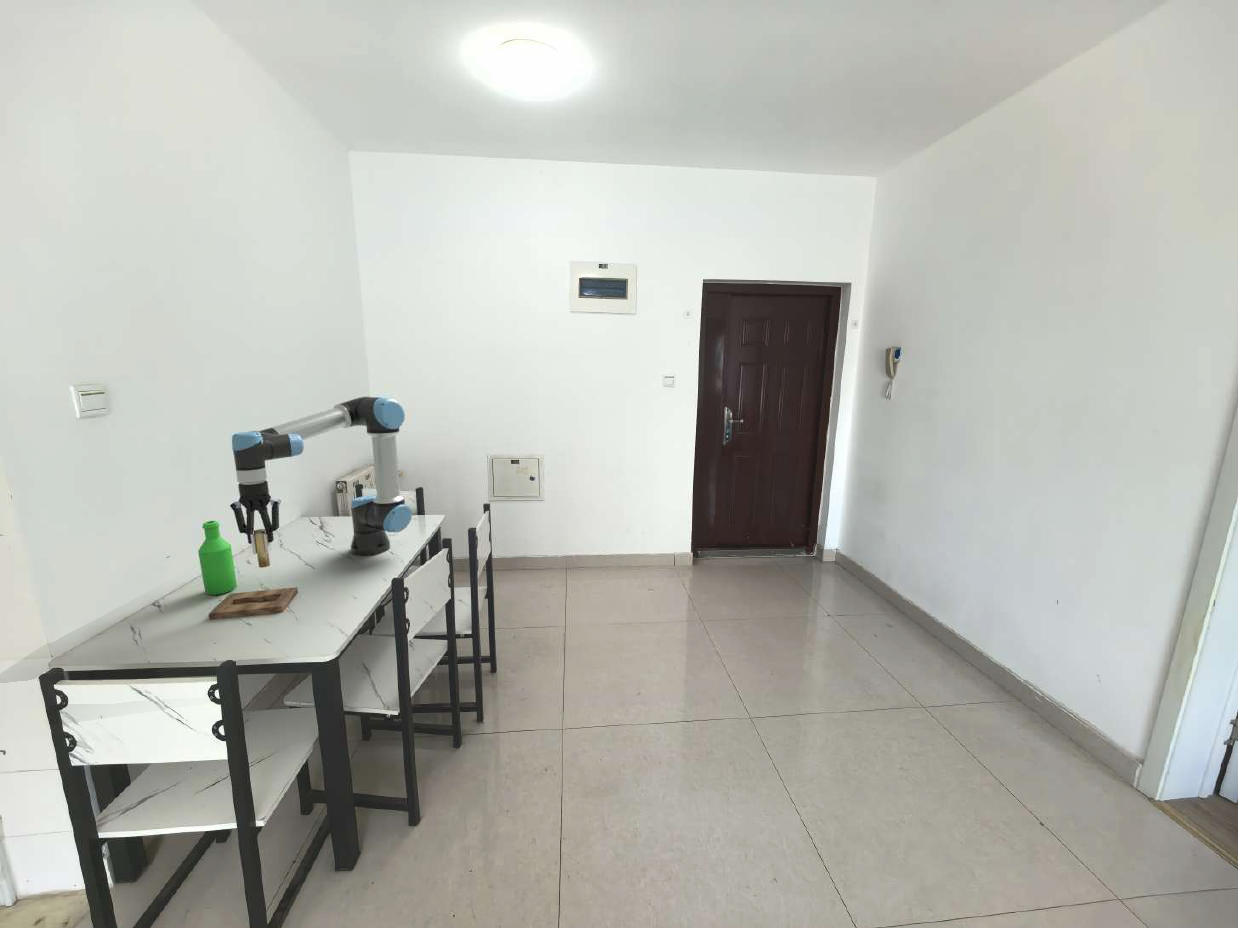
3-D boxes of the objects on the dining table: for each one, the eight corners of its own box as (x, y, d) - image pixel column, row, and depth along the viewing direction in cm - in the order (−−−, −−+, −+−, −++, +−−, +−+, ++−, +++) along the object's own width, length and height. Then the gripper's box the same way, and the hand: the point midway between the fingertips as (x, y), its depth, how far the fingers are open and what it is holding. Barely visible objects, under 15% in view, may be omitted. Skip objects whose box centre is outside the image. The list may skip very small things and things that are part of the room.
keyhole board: (297, 592, 174) (297, 587, 174) (282, 611, 161) (282, 606, 161) (230, 598, 169) (229, 593, 169) (209, 619, 156) (208, 613, 156)
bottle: (202, 598, 170) (190, 527, 164) (208, 587, 177) (197, 520, 172) (234, 593, 174) (223, 524, 168) (239, 583, 181) (229, 516, 176)
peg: (271, 563, 165) (266, 528, 163) (267, 567, 162) (263, 531, 160) (261, 564, 164) (256, 529, 162) (257, 567, 162) (252, 532, 159)
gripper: (285, 477, 163) (294, 546, 168) (228, 480, 159) (239, 550, 164) (277, 483, 156) (286, 554, 161) (217, 485, 152) (228, 558, 157)
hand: (262, 552), depth 163 cm, fingers closed on peg, 3 cm apart
